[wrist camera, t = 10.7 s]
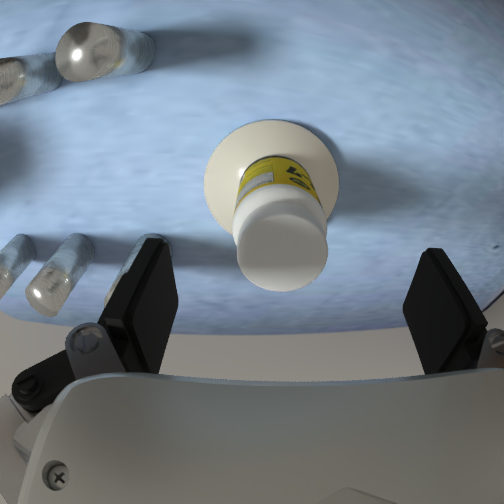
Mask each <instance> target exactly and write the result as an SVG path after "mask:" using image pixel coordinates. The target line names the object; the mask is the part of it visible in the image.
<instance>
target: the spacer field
mask: <svg viewBox="0 0 504 504" xmlns="http://www.w3.org/2000/svg"><path fill="white" fill-rule="evenodd" d="M155 53H156V48H155V44H154V41H153V40H152V38H151V37H150V36H148V35H147V34H145V33H142V32H138V31H133V30H129V29H124V28H119V27H114V26H109V25H104V24H98V23H92V22H83V23H79V24H76V25H75V26H73V27H71V28H70V29H69V30H68V31H67V32H66V33H65V34H64V35H63V36H62V38H61V39H60V41H59V43H58V46H57V49H56V54H55V53H48V54H35V55H25V56H16V57H8V58H1V59H0V105H4V104H7V103H10V102H13V101H16V100H20V99H23V98H27V97H30V96H34V95H38V94H42V93H46V92H50V91H53V90H55V89H56V88H57V87H59V85H60V84H61V83H62V81H63V79H64V78H65V79H67V80H69V81H72V82H82V81H88V80H94V79H100V78H107V77H114V76H122V75H131V74H137V73H140V72H142V71H144V70H146V69H147V68H148V67H149V66H150V65H151V63H152V62H153V60H154V57H155ZM147 238H162V239H163V240H164V242H167V243H168V244H169V242H168V241H167V240H166V239H165V238H164V237H162V236H160V235H157V234H146V235H144V236H142V237H141V238H140V239H139V240H138V242H137V243H136V245H135V247H134V248H133V250H132V252H131V253H130V255H129V257H128V259H127V260H126V262H125V264H124V265H123V267H122V269H121V271H120V272H119V274H118V276H117V278H116V279H115V281H114V283H113V285H112V287H111V288H110V290H109V292H108V294H107V296H106V297H105V300H104V306H106V305H107V303H108V301H109V299H110V297H111V295H112V293H113V291H114V289H115V287H116V286H117V284H118V282H119V280H120V278H121V276H122V275H123V274H124V273H126V272H128V270H129V268H130V267H131V265H132V263H133V261H134V259H135V258H136V256H137V254H138V252H139V250H140V249H141V247H142V245H143V243H144V242H145V240H146V239H147ZM169 249H170V255H171V257H172V248H171V245H170V244H169ZM35 257H36V249H35V246H34V244H33V243H32V241H31V240H30V239H29V238H28V237H27V236H25V235H23V234H18V235H16V236H15V237H14V238H13V239H12V240H11V241H10V242H9V243H8V244H7V245H6V246H5V247H4V248H3V249H2V250H1V251H0V300H1V298H2V297H3V296H4V294H5V293H6V292H7V291H8V289H9V288H10V287H11V286H12V284H13V283H14V282H15V281H16V280H17V278H18V277H19V276H20V275H21V274H22V272H23V271H24V270H25V269H26V268H27V267H28V265H29V264H30V263H31V262H32V261H33V260H34V258H35ZM94 257H95V248H94V246H93V244H92V242H91V241H90V240H89V239H88V238H87V237H85V236H84V235H81V234H72V235H70V236H69V237H68V238H67V239H66V240H65V242H64V243H63V244H62V245H61V246H60V247H59V248H58V250H57V251H56V252H55V253H54V254H53V255H52V257H51V258H50V259H49V260H48V261H47V262H46V264H45V265H44V266H43V267H42V269H41V270H40V271H39V272H38V273H37V275H36V276H35V277H34V278H33V280H32V281H31V282H30V283H29V285H28V286H27V287H26V290H25V294H26V298H27V300H28V302H29V303H30V305H31V306H32V307H33V308H34V309H35V310H36V311H37V312H39V313H40V314H42V315H44V316H48V317H53V316H56V315H57V314H58V312H59V310H60V309H61V307H62V306H63V304H64V302H65V301H66V299H67V298H68V296H69V295H70V293H71V292H72V290H73V289H74V287H75V286H76V284H77V283H78V281H79V280H80V278H81V277H82V275H83V274H84V272H85V271H86V269H87V268H88V266H89V265H90V264H91V262H92V261H93V259H94Z"/></svg>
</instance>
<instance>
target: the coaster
mask: <svg viewBox="0 0 504 504" xmlns="http://www.w3.org/2000/svg"><path fill="white" fill-rule="evenodd" d="M274 154H277V155H284V156H288V157H290V158H292V159H294V160H296V161H297V162H299V163H300V164H301V165H302V166H303V167H304V168H305V170H306V171H307V173H308V174H309V176H310V178H311V181H312V183H313V186H314V188H315V190H316V193H317V195H318V198H319V200H320V203H321V205H322V207H323V210H324V212H325V216H326V220H327V219H328V217H329V216H330V214H331V213H332V211H333V209H334V207H335V204H336V201H337V197H338V192H339V176H338V171H337V166H336V164H335V161H334V159H333V157H332V155H331V153H330V152H329V150H328V149H327V147H326V146H325V145H324V144H323V142H322V141H321V140H320V139H319V138H318V137H317V136H316V135H315V134H313V133H312V132H311V131H309V130H308V129H306V128H304V127H302V126H300V125H298V124H295V123H292V122H289V121H284V120H276V119H266V120H259V121H254V122H251V123H248V124H245V125H243V126H241V127H239V128H237V129H235V130H234V131H232V132H231V133H229V134H228V135H227V136H226V137H225V138H224V139H223V140H222V141H221V142H220V143H219V144H218V146H217V147H216V149H215V150H214V152H213V154H212V155H211V158H210V160H209V162H208V164H207V168H206V171H205V177H204V192H205V198H206V201H207V204H208V207H209V209H210V211H211V213H212V215H213V216H214V218H215V219H216V221H217V222H218V223H219V224H220V225H221V226H222V227H223V228H224V229H225V230H226V231H227V232H229V233H230V234H231V235H233V231H232V222H233V216H234V211H235V205H236V199H237V194H238V189H239V184H240V180H241V177H242V175H243V173H244V171H245V170H246V168H247V167H248V166H249V165H250V164H251V163H252V162H254V161H255V160H257V159H258V158H261V157H263V156H267V155H274Z"/></svg>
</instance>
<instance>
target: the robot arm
mask: <svg viewBox="0 0 504 504" xmlns="http://www.w3.org/2000/svg"><path fill="white" fill-rule="evenodd" d="M177 309H178V294H177V289H176V284H175V278H174V272H173V267H172V261H171V255H170V249H169V244H168V243H167V242H164V240H163V239H162V238H147V239H146V240H145V242H144V243H143V245H142V247H141V249H140V250H139V252H138V254H137V256H136V258H135V259H134V261H133V263H132V265H131V267H130V268H129V270H128V272H126V273H124V274H123V275H122V276H121V278H120V280H119V282H118V284H117V286H116V287H115V289H114V291H113V293H112V295H111V297H110V299H109V301H108V303H107V305H106V306H105V308H104V310H103V312H102V314H101V316H100V318H99V320H98V322H97V323H84V324H81V325H79V326H77V327H75V328H74V329H73V330H72V331H71V332H70V333H69V334H68V336H67V337H66V341H65V348H66V349H65V350H63V351H61V352H59V353H57V354H55V355H53V356H51V357H49V358H47V359H46V360H44V361H42V362H40V363H38V364H36V365H34V366H32V367H30V368H28V369H26V370H24V371H23V372H21V373H20V374H19V375H18V376H17V377H16V378H15V380H14V382H13V384H12V393H11V394H10V395H9V396H8V395H7V394H5V395H4V396H2V397H1V398H0V493H1V494H2V496H3V497H4V499H5V500H6V502H7V503H8V504H504V331H503V330H501V329H496V328H494V329H490V330H489V331H487V330H486V328H485V327H486V326H487V324H488V322H487V321H486V319H485V317H484V315H483V313H482V312H481V310H480V308H479V306H478V305H477V303H476V301H475V299H474V298H473V296H472V294H471V293H470V291H469V289H468V288H467V286H466V284H465V283H464V281H463V280H462V278H461V276H460V275H459V273H458V272H457V270H456V269H455V267H454V265H453V264H452V262H451V261H450V259H449V258H448V256H447V255H446V253H445V252H444V250H443V249H441V248H427V250H426V251H424V252H423V253H422V255H421V258H420V261H419V264H418V266H417V269H416V272H415V275H414V278H413V280H412V283H411V286H410V288H409V291H408V293H407V296H406V299H405V301H404V304H403V314H404V316H405V319H406V321H407V324H408V327H409V330H410V332H411V335H412V338H413V340H414V343H415V346H416V349H417V352H418V355H419V358H420V361H421V364H422V367H423V370H424V373H425V375H418V376H410V377H398V378H386V379H372V380H371V379H370V380H352V381H325V382H324V381H323V382H276V381H245V380H226V379H212V378H197V377H184V376H174V375H163V374H158V373H159V370H160V366H161V363H162V359H163V356H164V352H165V349H166V345H167V342H168V338H169V335H170V332H171V328H172V325H173V322H174V318H175V315H176V312H177Z"/></svg>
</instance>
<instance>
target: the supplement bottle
mask: <svg viewBox="0 0 504 504" xmlns="http://www.w3.org/2000/svg"><path fill="white" fill-rule="evenodd" d="M232 231H233V237H234V241H235V244H236V246H237V261H238V264H239V267H240V269H241V271H242V272H243V274H244V275H245V276H246V277H247V278H248V279H249V280H250V281H251V282H252V283H254V284H255V285H257V286H259V287H261V288H264V289H267V290H271V291H279V292H283V291H292V290H296V289H299V288H302V287H304V286H306V285H308V284H309V283H311V282H312V281H313V280H315V279H316V278H317V277H318V276H319V274H320V273H321V272H322V270H323V268H324V266H325V264H326V261H327V257H328V245H327V241H326V235H327V220H326V216H325V212H324V210H323V207H322V205H321V203H320V200H319V198H318V195H317V193H316V190H315V188H314V186H313V183H312V181H311V178H310V176H309V174H308V173H307V171H306V170H305V168H304V167H303V166H302V165H301V164H300V163H299V162H297V161H296V160H294V159H292V158H290V157H288V156H284V155H277V154H274V155H267V156H263V157H261V158H258V159H257V160H255V161H254V162H252V163H251V164H250V165H249V166H248V167H247V168H246V170H245V171H244V173H243V175H242V177H241V180H240V184H239V189H238V194H237V199H236V205H235V211H234V216H233V222H232Z"/></svg>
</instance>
